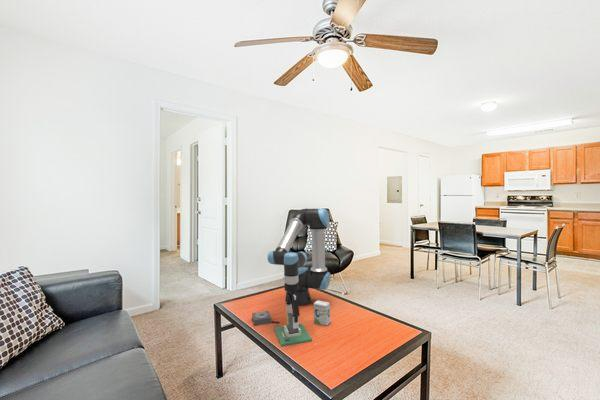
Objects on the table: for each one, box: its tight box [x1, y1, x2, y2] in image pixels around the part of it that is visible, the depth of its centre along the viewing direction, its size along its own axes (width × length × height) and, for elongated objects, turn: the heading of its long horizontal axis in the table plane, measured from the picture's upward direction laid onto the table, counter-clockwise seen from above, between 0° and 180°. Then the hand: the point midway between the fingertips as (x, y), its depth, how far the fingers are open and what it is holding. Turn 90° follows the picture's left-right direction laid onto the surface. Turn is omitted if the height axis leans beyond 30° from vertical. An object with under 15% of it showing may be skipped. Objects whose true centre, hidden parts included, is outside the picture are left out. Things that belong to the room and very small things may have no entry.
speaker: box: [251, 310, 273, 326], centre depth 165 cm, size 10×10×4 cm
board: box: [274, 322, 313, 347], centre depth 148 cm, size 16×18×4 cm
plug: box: [286, 312, 297, 334], centre depth 147 cm, size 5×4×10 cm
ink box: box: [313, 299, 331, 326], centre depth 161 cm, size 9×5×12 cm, turn 62°
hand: (292, 321), depth 148 cm, fingers open, 13 cm apart
